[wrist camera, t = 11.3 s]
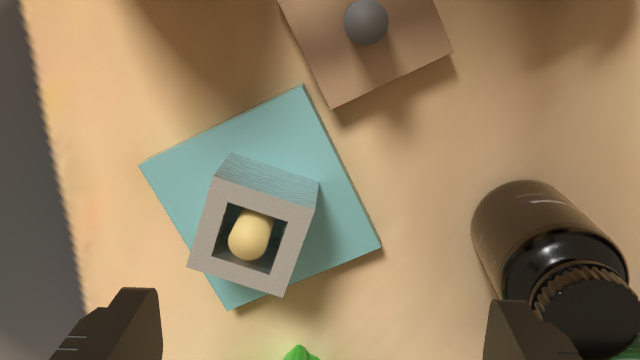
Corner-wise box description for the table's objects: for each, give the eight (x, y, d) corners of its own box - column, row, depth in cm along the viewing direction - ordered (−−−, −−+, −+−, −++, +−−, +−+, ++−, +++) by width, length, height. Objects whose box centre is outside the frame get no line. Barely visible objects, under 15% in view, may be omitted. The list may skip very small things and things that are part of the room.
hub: (146, 159, 36) (102, 194, 30) (303, 82, 34) (293, 102, 28) (231, 300, 40) (208, 360, 33) (379, 238, 38) (387, 289, 31)
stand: (274, -14, 33) (256, -18, 26) (395, -79, 31) (409, -100, 24) (331, 104, 35) (328, 128, 28) (447, 49, 33) (472, 61, 27)
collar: (230, 151, 34) (212, 176, 30) (319, 181, 35) (315, 210, 30) (206, 232, 36) (186, 266, 32) (290, 259, 37) (282, 297, 32)
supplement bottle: (551, 160, 35) (649, 236, 24) (581, 246, 37) (686, 355, 26) (452, 200, 36) (501, 291, 25) (486, 281, 38) (547, 401, 27)
